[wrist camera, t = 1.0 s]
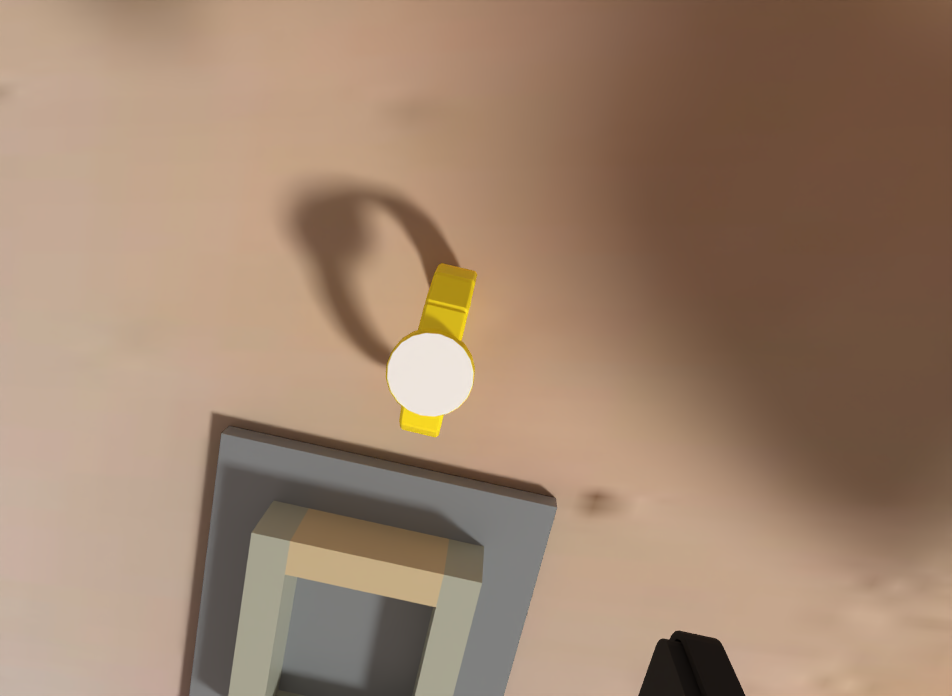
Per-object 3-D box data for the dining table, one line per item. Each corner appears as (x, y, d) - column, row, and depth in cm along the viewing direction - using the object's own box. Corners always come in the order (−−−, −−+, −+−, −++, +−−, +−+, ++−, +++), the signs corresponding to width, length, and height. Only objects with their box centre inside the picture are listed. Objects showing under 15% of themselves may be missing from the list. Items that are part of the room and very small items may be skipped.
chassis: (555, 497, 28) (561, 540, 25) (457, 846, 33) (452, 918, 30) (229, 425, 28) (193, 459, 25) (183, 788, 33) (149, 855, 30)
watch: (427, 253, 26) (407, 265, 20) (496, 270, 26) (497, 287, 20) (395, 397, 27) (367, 449, 21) (461, 413, 27) (452, 469, 21)
